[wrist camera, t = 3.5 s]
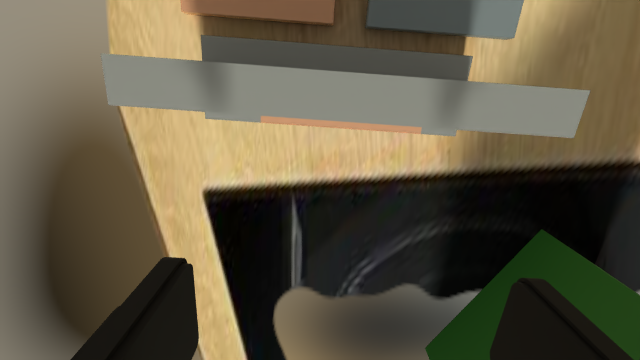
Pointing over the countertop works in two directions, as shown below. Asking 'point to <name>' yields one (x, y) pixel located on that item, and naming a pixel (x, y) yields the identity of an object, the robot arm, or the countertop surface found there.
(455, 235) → the countertop surface
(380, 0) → the mat bluegrey
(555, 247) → the hardback book
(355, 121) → the upright grey panel
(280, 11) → the tile terracotta
